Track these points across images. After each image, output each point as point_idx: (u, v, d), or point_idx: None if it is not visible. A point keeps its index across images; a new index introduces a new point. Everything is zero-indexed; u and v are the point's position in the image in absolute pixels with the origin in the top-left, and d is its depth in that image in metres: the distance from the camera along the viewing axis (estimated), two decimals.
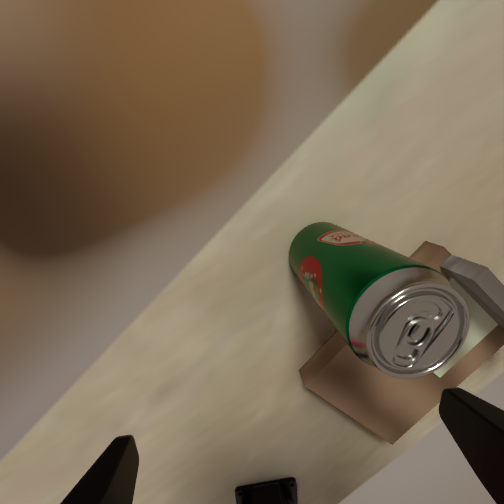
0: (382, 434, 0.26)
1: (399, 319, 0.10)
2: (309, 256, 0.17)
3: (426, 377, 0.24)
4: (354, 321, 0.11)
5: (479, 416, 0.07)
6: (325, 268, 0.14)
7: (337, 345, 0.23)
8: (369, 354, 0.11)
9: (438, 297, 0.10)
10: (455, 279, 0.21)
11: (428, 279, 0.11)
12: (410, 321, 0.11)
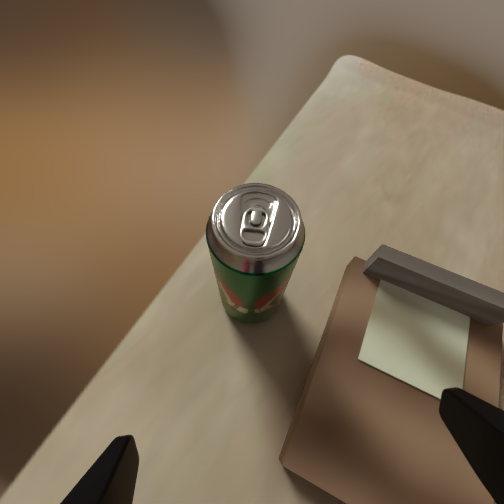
0: None
1: (233, 209, 0.13)
2: None
3: None
4: (209, 232, 0.13)
5: (479, 416, 0.07)
6: None
7: (305, 392, 0.19)
8: (219, 241, 0.12)
9: (258, 190, 0.13)
10: (383, 278, 0.22)
11: (252, 188, 0.14)
12: (245, 212, 0.13)
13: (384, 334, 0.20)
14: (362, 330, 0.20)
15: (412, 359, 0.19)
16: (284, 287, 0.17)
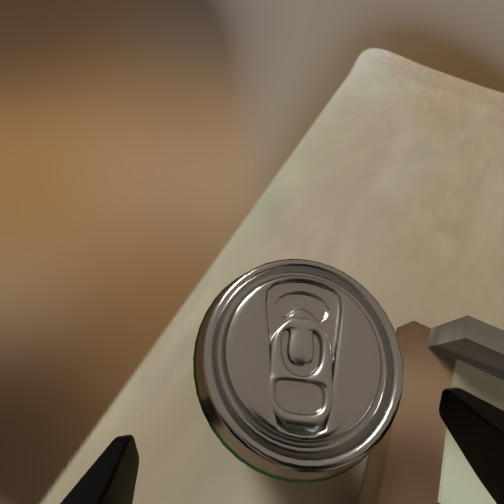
0: None
1: (251, 325, 0.06)
2: None
3: None
4: (199, 368, 0.06)
5: (479, 416, 0.07)
6: None
7: None
8: (221, 417, 0.05)
9: (300, 277, 0.07)
10: (461, 359, 0.15)
11: None
12: (278, 330, 0.06)
13: None
14: (438, 448, 0.13)
15: None
16: None
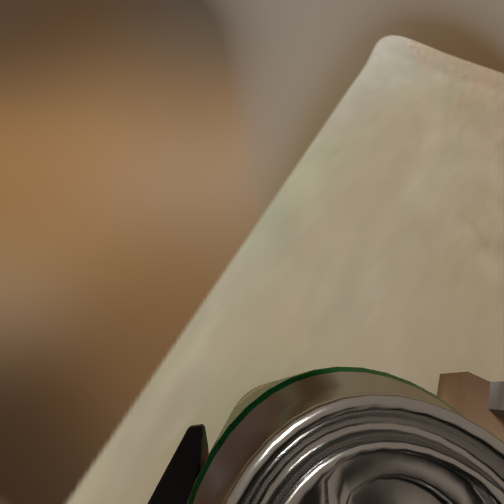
0: None
1: None
2: None
3: None
4: None
5: None
6: None
7: None
8: None
9: (396, 445, 0.03)
10: None
11: (350, 395, 0.04)
12: None
13: None
14: None
15: None
16: None
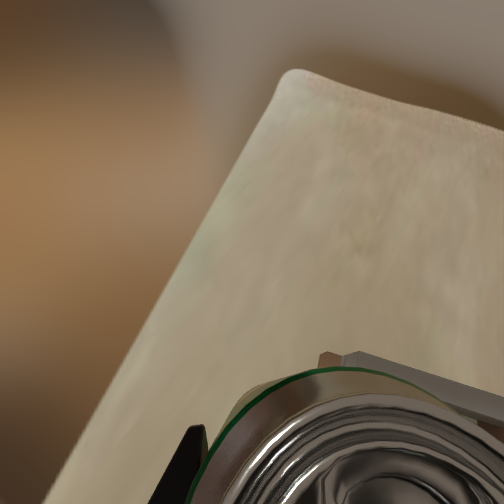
0: None
1: None
2: None
3: None
4: None
5: None
6: None
7: None
8: None
9: (392, 445, 0.03)
10: None
11: (347, 394, 0.04)
12: None
13: None
14: None
15: None
16: None
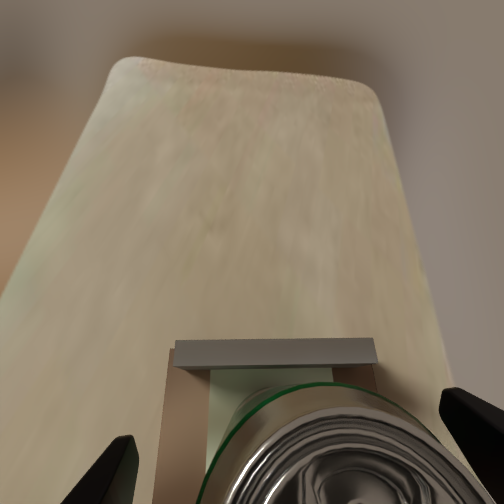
0: None
1: None
2: None
3: None
4: None
5: (479, 416, 0.07)
6: None
7: None
8: None
9: (356, 445, 0.04)
10: (211, 369, 0.15)
11: (325, 406, 0.05)
12: None
13: None
14: (201, 472, 0.13)
15: None
16: None
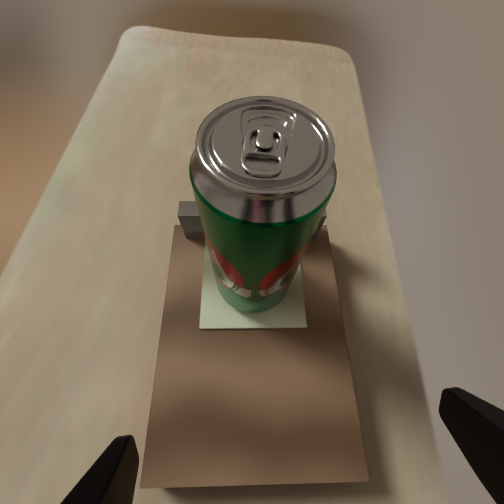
0: (334, 474, 0.14)
1: (229, 127, 0.08)
2: None
3: (294, 339, 0.17)
4: (193, 165, 0.09)
5: (479, 416, 0.07)
6: None
7: None
8: (208, 170, 0.08)
9: (266, 105, 0.09)
10: None
11: None
12: (249, 133, 0.09)
13: None
14: (198, 297, 0.18)
15: None
16: (300, 258, 0.12)
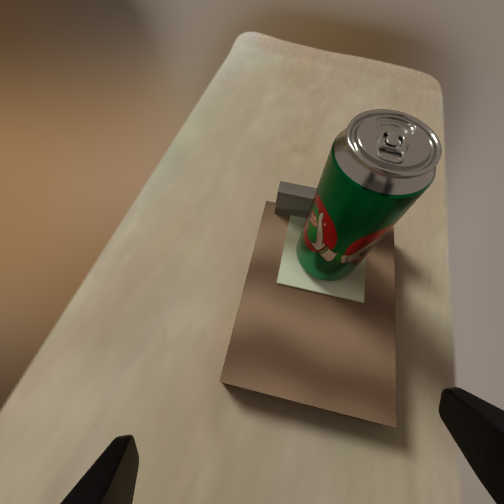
0: (368, 415, 0.18)
1: (369, 127, 0.13)
2: None
3: (352, 309, 0.21)
4: (337, 149, 0.13)
5: (479, 416, 0.07)
6: None
7: None
8: (354, 152, 0.12)
9: (395, 116, 0.13)
10: (291, 213, 0.25)
11: None
12: (381, 133, 0.13)
13: (297, 258, 0.23)
14: (278, 259, 0.23)
15: None
16: (384, 235, 0.16)
